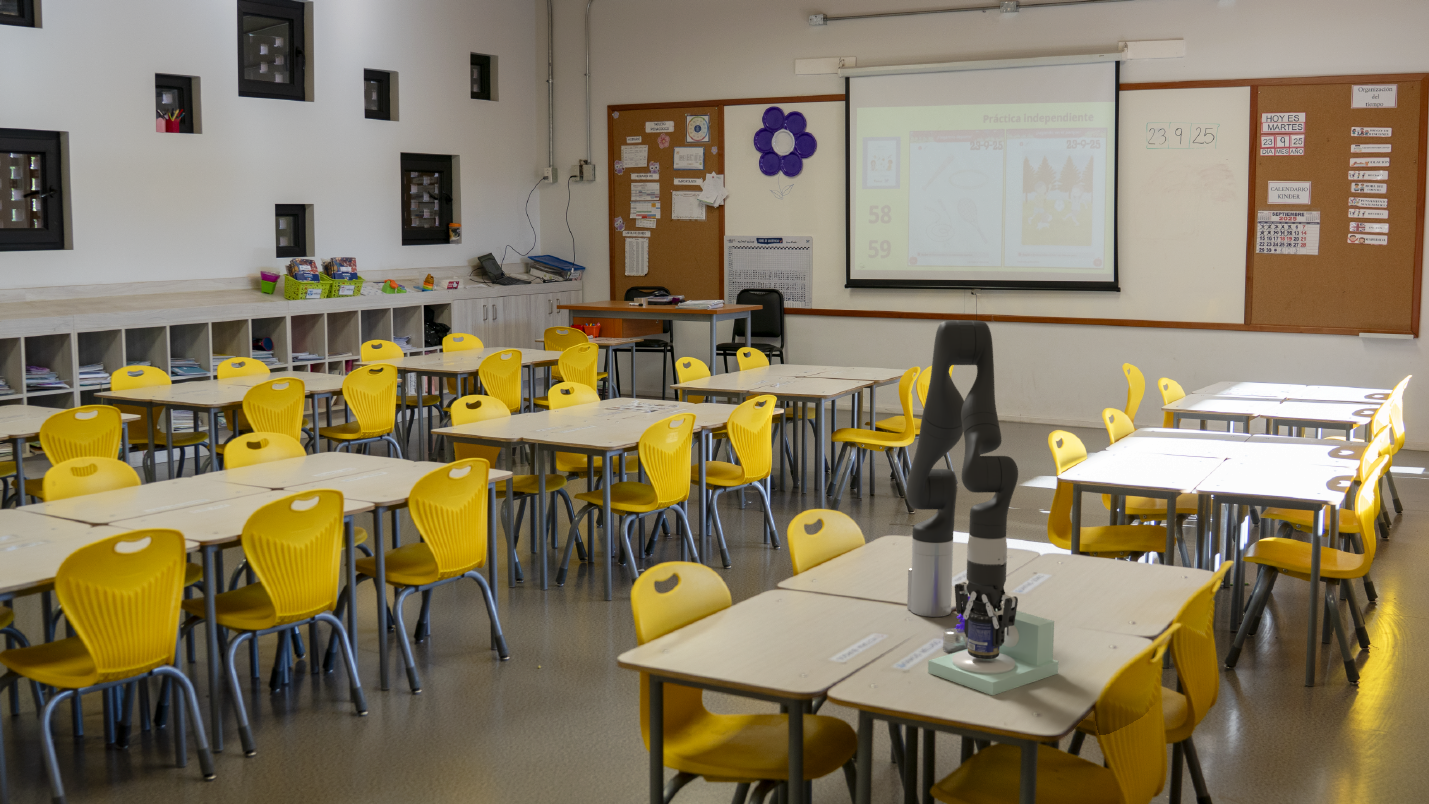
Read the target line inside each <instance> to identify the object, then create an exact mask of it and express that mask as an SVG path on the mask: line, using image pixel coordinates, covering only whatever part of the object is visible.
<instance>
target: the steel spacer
mask: <svg viewBox="0 0 1429 804" xmlns="http://www.w3.org/2000/svg"><path fill="white" fill-rule="evenodd" d="M942 638H943V642H942V648H943V649H942V650H943V652H944V653H947V654H952V653H955V652H959V651H962V650H966V649H968V638H966V634H965V632H964V630H962V629H956V627H954V628H953V627H951V628H946V629H944V630H943V637H942Z"/></svg>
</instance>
